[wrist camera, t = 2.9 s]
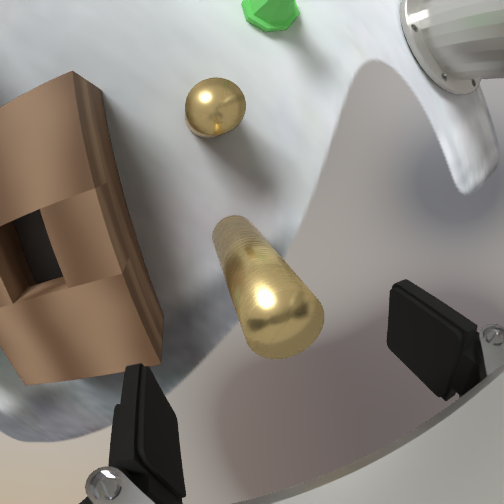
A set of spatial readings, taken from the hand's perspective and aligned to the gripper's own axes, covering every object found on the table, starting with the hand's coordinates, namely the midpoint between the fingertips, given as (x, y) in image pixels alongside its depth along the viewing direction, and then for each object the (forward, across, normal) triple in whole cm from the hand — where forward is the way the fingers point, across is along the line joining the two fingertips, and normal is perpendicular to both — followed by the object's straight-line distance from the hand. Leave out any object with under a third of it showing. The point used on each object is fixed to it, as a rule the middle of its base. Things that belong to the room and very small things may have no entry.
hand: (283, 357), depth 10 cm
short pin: (+13, -1, -10) cm, 16 cm away
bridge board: (+13, +12, -5) cm, 19 cm away
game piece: (+13, -7, -18) cm, 23 cm away
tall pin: (+13, -1, -1) cm, 13 cm away
